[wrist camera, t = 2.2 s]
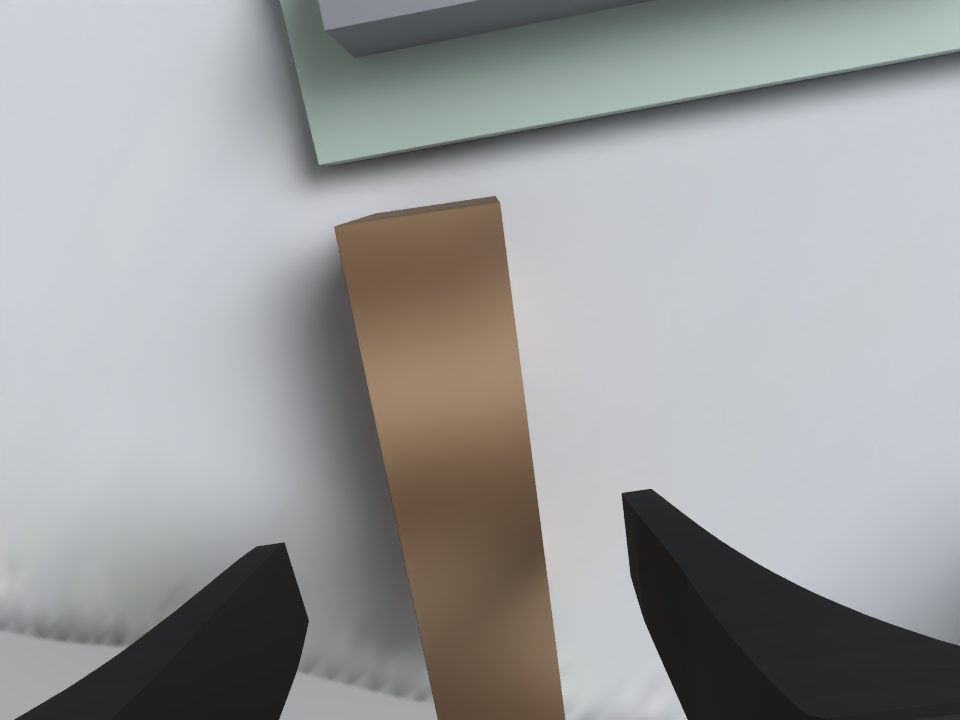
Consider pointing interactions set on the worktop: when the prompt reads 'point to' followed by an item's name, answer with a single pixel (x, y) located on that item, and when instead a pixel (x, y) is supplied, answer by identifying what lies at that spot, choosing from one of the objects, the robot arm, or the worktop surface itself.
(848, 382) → the worktop surface
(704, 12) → the ridge stand
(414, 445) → the walnut bar
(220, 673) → the robot arm
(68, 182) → the worktop surface
